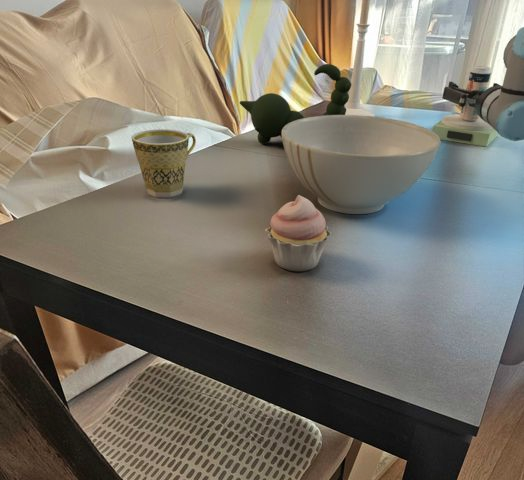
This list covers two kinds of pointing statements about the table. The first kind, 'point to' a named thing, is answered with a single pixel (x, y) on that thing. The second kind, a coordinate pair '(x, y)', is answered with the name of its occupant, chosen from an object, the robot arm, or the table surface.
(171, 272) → the table surface
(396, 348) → the table surface
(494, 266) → the table surface
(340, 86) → the toy figurine
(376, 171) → the decorative bowl
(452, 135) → the kitchen scale
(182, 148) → the ceramic cup
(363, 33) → the candlestick
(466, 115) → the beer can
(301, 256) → the cupcake
